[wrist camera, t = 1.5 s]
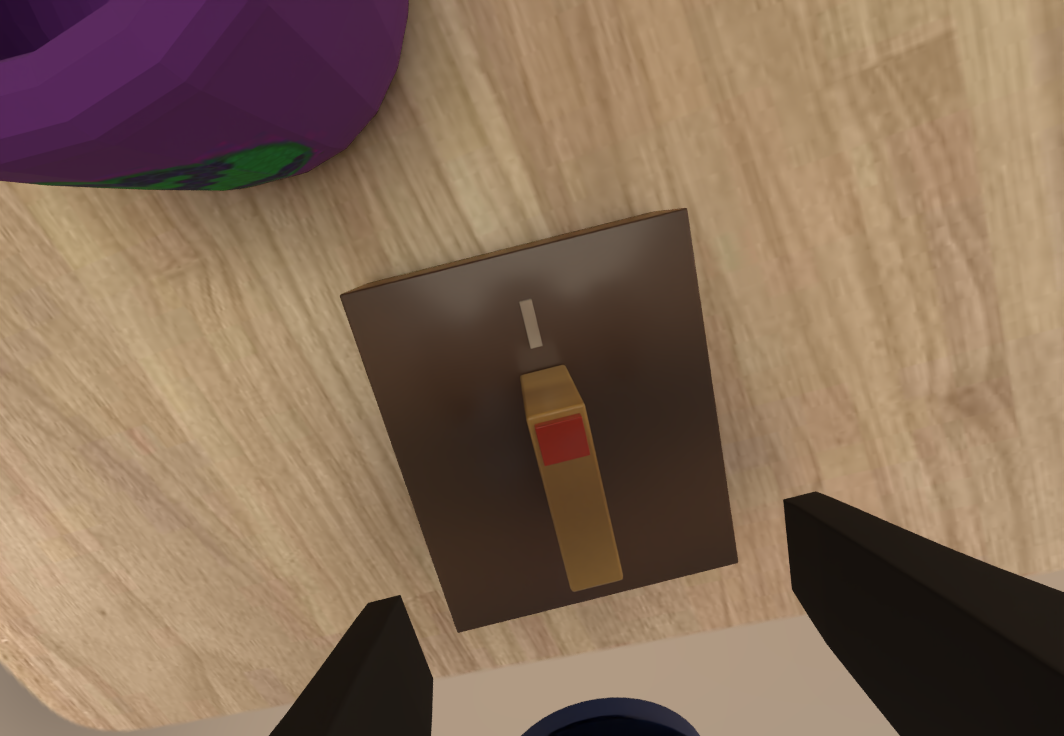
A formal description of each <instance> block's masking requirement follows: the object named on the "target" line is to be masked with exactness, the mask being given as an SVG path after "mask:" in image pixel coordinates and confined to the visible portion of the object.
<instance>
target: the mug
mask: <svg viewBox="0 0 1064 736" xmlns="http://www.w3.org/2000/svg"><path fill="white" fill-rule="evenodd" d="M408 5H409V3H408V0H0V181H8V182H19V183H29V184H39V185H51V186H73V187H95V188H118V189H143V190H219V191H224V190H235V189H242V188H247V187H253V186H256V185H260V184H264V183H268V182H272V181H276V180H279V179H283V178H287V177H291V176H295V175H298V174H302V173H306V172H308V171H310V170H312V169H313V168H315V167H316V166H318V165H320V164H321V163H323V162H325V161H326V160H328V159H330V158H331V157H333V156H334V155H336V154H338V153H339V152H341V151H343V150H344V149H346V148H347V147H348V146H349V144H350V143H351V142H352V141H353V140H354V139H355V138H356V136H357V135H358V134H359V133H360V132H361V131H362V129H363V128H364V127H365V126H366V125H367V124H368V122H369V121H370V120H371V119H372V118H373V117H374V115H375V114H376V113H377V111H378V109H379V107H380V105H381V103H382V100H383V98H384V96H385V94H386V92H387V90H388V88H389V85H390V83H391V81H392V79H393V77H394V75H395V73H396V70H397V68H398V64H399V59H400V54H401V48H402V43H403V38H404V33H405V28H406V23H407V18H408Z"/></svg>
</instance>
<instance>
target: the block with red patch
mask: <svg viewBox="0 0 1064 736" xmlns="http://www.w3.org/2000/svg"><path fill="white" fill-rule="evenodd" d="M520 382H521V389H522V395H523V402H524V409H525V415H526V421H527V425H528V429H529V433H530V436H531V440H532V444H533V448H534V452H535V455H536V459H537V463H538V467H539V471H540V475H541V478H542V482H543V486H544V490H545V494H546V497H547V501H548V505H549V509H550V513H551V517H552V520H553V524H554V528H555V532H556V536H557V539H558V543H559V547H560V551H561V555H562V558H563V562H564V566H565V570H566V574H567V578H568V581H569V585H570V589H571V590H572V591H573V592H576V591H580V590H584V589H588V588H592V587H596V586H600V585H604V584H608V583H612V582H616V581H620V580H622V579H623V573H622V568H621V564H620V559H619V555H618V550H617V546H616V541H615V537H614V533H613V528H612V524H611V519H610V515H609V510H608V506H607V501H606V497H605V492H604V488H603V483H602V479H601V475H600V470H599V466H598V461H597V457H596V452H595V448H594V443H593V439H592V434H591V430H590V425H589V421H588V417H587V412H586V408H585V404H584V402H583V400H582V398H581V396H580V394H579V392H578V390H577V388H576V386H575V384H574V382H573V380H572V378H571V376H570V374H569V372H568V370H567V368H566V366H565V365H560V366H556V367H552V368H548V369H544V370H540V371H536V372H532V373H528V374H524V375H521V376H520Z"/></svg>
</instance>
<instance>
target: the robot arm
mask: <svg viewBox="0 0 1064 736" xmlns="http://www.w3.org/2000/svg"><path fill="white" fill-rule="evenodd" d="M783 502H784V513H785V523H786V533H787V543H788V553H789V564H790V574H791V584H792V590H793V592H794V593H795V595H796V597H797V598H798V600H799V601H800V603H801V605H802V606H803V608H804V609H805V611H806V613H807V614H808V616H809V618H810V619H811V621H812V622H813V624H814V625H815V627H816V628H817V630H818V631H819V633H820V634H821V636H822V637H823V639H824V641H825V642H826V644H827V645H828V646H829V647H830V649H831V650H832V651H833V653H834V654H835V655H836V656H837V658H838V659H839V660H840V661H841V663H842V664H843V665H844V666H845V668H846V669H847V670H848V672H849V673H850V674H851V675H852V677H853V678H854V679H855V680H856V682H857V683H858V684H859V685H860V687H861V688H862V689H863V690H864V692H865V693H866V694H867V695H868V697H869V698H870V699H871V700H872V701H873V703H874V704H875V705H876V706H877V708H878V709H879V710H880V711H881V713H882V714H883V715H884V716H885V718H886V719H887V720H888V721H889V722H890V724H891V725H892V726H893V728H894V729H895V730H896V731H897V733H898V734H899V735H900V736H1064V592H1062V591H1059V590H1056V589H1054V588H1051V587H1048V586H1046V585H1043V584H1040V583H1038V582H1035V581H1032V580H1030V579H1027V578H1024V577H1022V576H1019V575H1016V574H1014V573H1011V572H1008V571H1006V570H1003V569H1000V568H998V567H995V566H993V565H990V564H988V563H985V562H983V561H980V560H978V559H975V558H973V557H970V556H968V555H965V554H963V553H960V552H958V551H955V550H953V549H950V548H948V547H946V546H943V545H941V544H938V543H936V542H934V541H931V540H929V539H927V538H924V537H922V536H919V535H917V534H915V533H912V532H910V531H908V530H905V529H903V528H901V527H899V526H896V525H894V524H892V523H889V522H887V521H885V520H882V519H880V518H878V517H876V516H873V515H871V514H869V513H866V512H864V511H862V510H860V509H857V508H855V507H853V506H850V505H848V504H846V503H843V502H841V501H839V500H836V499H834V498H831V497H829V496H826V495H824V494H821V493H819V492H812V493H808V494H804V495H800V496H796V497H792V498H788V499H784V500H783ZM432 697H433V677H432V674H431V672H430V669H429V667H428V664H427V662H426V659H425V657H424V654H423V651H422V649H421V646H420V644H419V641H418V639H417V636H416V634H415V631H414V629H413V626H412V623H411V621H410V618H409V616H408V613H407V611H406V608H405V606H404V603H403V601H402V598H401V596H400V595H398V596H394V597H390V598H386V599H382V600H378V601H374V602H370V603H368V604H367V605H366V606H365V608H364V609H363V610H362V611H361V613H360V614H359V615H358V617H357V618H356V619H355V621H354V622H353V624H352V625H351V626H350V628H349V629H348V630H347V632H346V633H345V635H344V636H343V637H342V639H341V640H340V641H339V643H338V644H337V646H336V647H335V648H334V650H333V651H332V652H331V654H330V655H329V657H328V658H327V659H326V661H325V662H324V664H323V665H322V666H321V668H320V669H319V670H318V672H317V673H316V674H315V676H314V677H313V678H312V680H311V681H310V682H309V684H308V685H307V686H306V688H305V689H304V690H303V692H302V693H301V695H300V696H299V697H298V699H297V700H296V701H295V703H294V704H293V705H292V707H291V708H290V709H289V711H288V712H287V713H286V715H285V716H284V717H283V719H282V720H281V721H280V723H279V724H278V725H277V726H276V727H275V729H274V730H273V731H272V732H271V734H270V735H269V736H431V725H432V700H433V698H432Z"/></svg>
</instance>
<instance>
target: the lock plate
mask: <svg viewBox="0 0 1064 736" xmlns="http://www.w3.org/2000/svg"><path fill="white" fill-rule="evenodd" d="M340 298H341V301H342V304H343V307H344V310H345V312H346V315H347V318H348V321H349V324H350V327H351V330H352V332H353V335H354V338H355V341H356V344H357V347H358V350H359V352H360V355H361V358H362V361H363V364H364V367H365V370H366V372H367V375H368V378H369V381H370V384H371V387H372V390H373V392H374V395H375V398H376V401H377V404H378V407H379V410H380V412H381V415H382V418H383V421H384V424H385V427H386V430H387V432H388V435H389V438H390V441H391V444H392V447H393V450H394V452H395V455H396V458H397V461H398V464H399V467H400V470H401V472H402V475H403V478H404V481H405V484H406V487H407V490H408V492H409V495H410V498H411V501H412V504H413V507H414V510H415V512H416V515H417V518H418V521H419V524H420V527H421V530H422V532H423V535H424V538H425V541H426V544H427V547H428V550H429V552H430V555H431V558H432V561H433V564H434V567H435V570H436V572H437V575H438V578H439V581H440V584H441V587H442V590H443V592H444V595H445V598H446V601H447V604H448V607H449V610H450V612H451V615H452V618H453V621H454V624H455V627H456V630H457V632H458V633H459V632H463V631H467V630H471V629H475V628H479V627H483V626H487V625H491V624H495V623H499V622H503V621H507V620H511V619H515V618H519V617H523V616H527V615H531V614H535V613H539V612H543V611H547V610H551V609H555V608H559V607H563V606H567V605H571V604H575V603H579V602H583V601H587V600H591V599H595V598H599V597H603V596H607V595H611V594H615V593H619V592H623V591H627V590H631V589H635V588H639V587H643V586H647V585H651V584H655V583H659V582H663V581H667V580H671V579H675V578H679V577H683V576H687V575H691V574H695V573H699V572H703V571H707V570H711V569H715V568H719V567H723V566H727V565H731V564H735V563H738V557H737V550H736V543H735V536H734V529H733V522H732V515H731V508H730V502H729V495H728V488H727V481H726V474H725V467H724V460H723V453H722V446H721V439H720V432H719V426H718V419H717V412H716V405H715V398H714V391H713V384H712V377H711V370H710V363H709V356H708V350H707V343H706V336H705V329H704V322H703V315H702V308H701V301H700V294H699V287H698V280H697V274H696V267H695V260H694V253H693V246H692V239H691V232H690V225H689V218H688V211H687V208H681V209H672V210H663V211H654V212H650V213H646V214H642V215H638V216H634V217H630V218H626V219H622V220H618V221H614V222H610V223H606V224H602V225H598V226H594V227H590V228H586V229H582V230H578V231H574V232H570V233H566V234H562V235H558V236H554V237H550V238H546V239H542V240H538V241H534V242H530V243H526V244H522V245H518V246H514V247H510V248H506V249H502V250H498V251H494V252H490V253H486V254H482V255H479V256H475V257H471V258H467V259H463V260H459V261H455V262H451V263H447V264H443V265H439V266H435V267H431V268H427V269H423V270H419V271H415V272H411V273H407V274H403V275H399V276H395V277H391V278H387V279H383V280H379V281H375V282H371V283H367V284H365V285H362V286H360V287H357V288H355V289H353V290H350V291H348V292H345V293H343V294H341V295H340ZM560 365H565V366H566V368H567V370H568V372H569V374H570V376H571V378H572V380H573V382H574V384H575V386H576V388H577V390H578V392H579V394H580V396H581V398H582V400H583V402H584V404H585V408H586V412H587V417H588V421H589V425H590V430H591V434H592V439H593V443H594V448H595V452H596V457H597V461H598V466H599V470H600V475H601V479H602V483H603V488H604V492H605V497H606V501H607V506H608V510H609V515H610V519H611V524H612V528H613V533H614V537H615V541H616V546H617V550H618V555H619V559H620V564H621V568H622V573H623V579H622V580H620V581H616V582H612V583H608V584H604V585H600V586H596V587H592V588H588V589H584V590H580V591H576V592H573V591H572V590H571V589H570V585H569V581H568V578H567V574H566V570H565V566H564V562H563V558H562V555H561V551H560V547H559V543H558V539H557V536H556V532H555V528H554V524H553V520H552V517H551V513H550V509H549V505H548V501H547V497H546V494H545V490H544V486H543V482H542V478H541V475H540V471H539V467H538V463H537V459H536V455H535V452H534V448H533V444H532V440H531V436H530V433H529V429H528V425H527V421H526V415H525V409H524V402H523V395H522V389H521V382H520V376H521V375H524V374H528V373H532V372H536V371H540V370H544V369H548V368H552V367H556V366H560Z"/></svg>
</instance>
